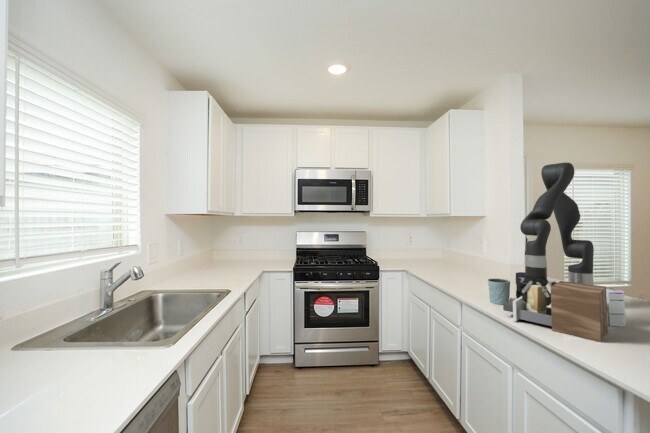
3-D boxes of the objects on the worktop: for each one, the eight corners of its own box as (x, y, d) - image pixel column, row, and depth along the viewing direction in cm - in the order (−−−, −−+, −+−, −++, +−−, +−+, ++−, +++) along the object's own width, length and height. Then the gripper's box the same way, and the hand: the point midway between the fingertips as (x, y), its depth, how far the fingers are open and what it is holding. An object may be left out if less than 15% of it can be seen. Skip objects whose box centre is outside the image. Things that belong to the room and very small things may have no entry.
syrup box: (626, 326, 115) (625, 291, 115) (609, 326, 116) (608, 290, 116) (615, 321, 120) (614, 287, 121) (598, 321, 122) (597, 287, 122)
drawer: (512, 310, 136) (512, 292, 136) (563, 320, 121) (562, 301, 121) (500, 317, 127) (499, 298, 127) (553, 329, 112) (552, 308, 112)
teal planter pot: (510, 301, 151) (510, 279, 152) (511, 307, 143) (510, 283, 143) (488, 299, 157) (488, 277, 157) (488, 304, 148) (487, 281, 148)
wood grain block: (561, 321, 122) (560, 281, 122) (607, 331, 111) (606, 286, 111) (552, 330, 112) (550, 286, 113) (600, 342, 101) (599, 293, 102)
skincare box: (525, 310, 126) (525, 282, 126) (535, 310, 126) (534, 282, 126) (537, 315, 119) (537, 286, 119) (547, 315, 119) (547, 286, 120)
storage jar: (514, 302, 150) (513, 274, 150) (517, 298, 157) (516, 271, 157) (537, 306, 143) (536, 276, 143) (540, 301, 150) (539, 273, 151)
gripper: (559, 266, 119) (559, 305, 119) (519, 262, 131) (520, 298, 130) (553, 268, 115) (554, 309, 115) (513, 264, 126) (514, 301, 126)
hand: (536, 303), depth 122 cm, fingers closed on skincare box, 7 cm apart
